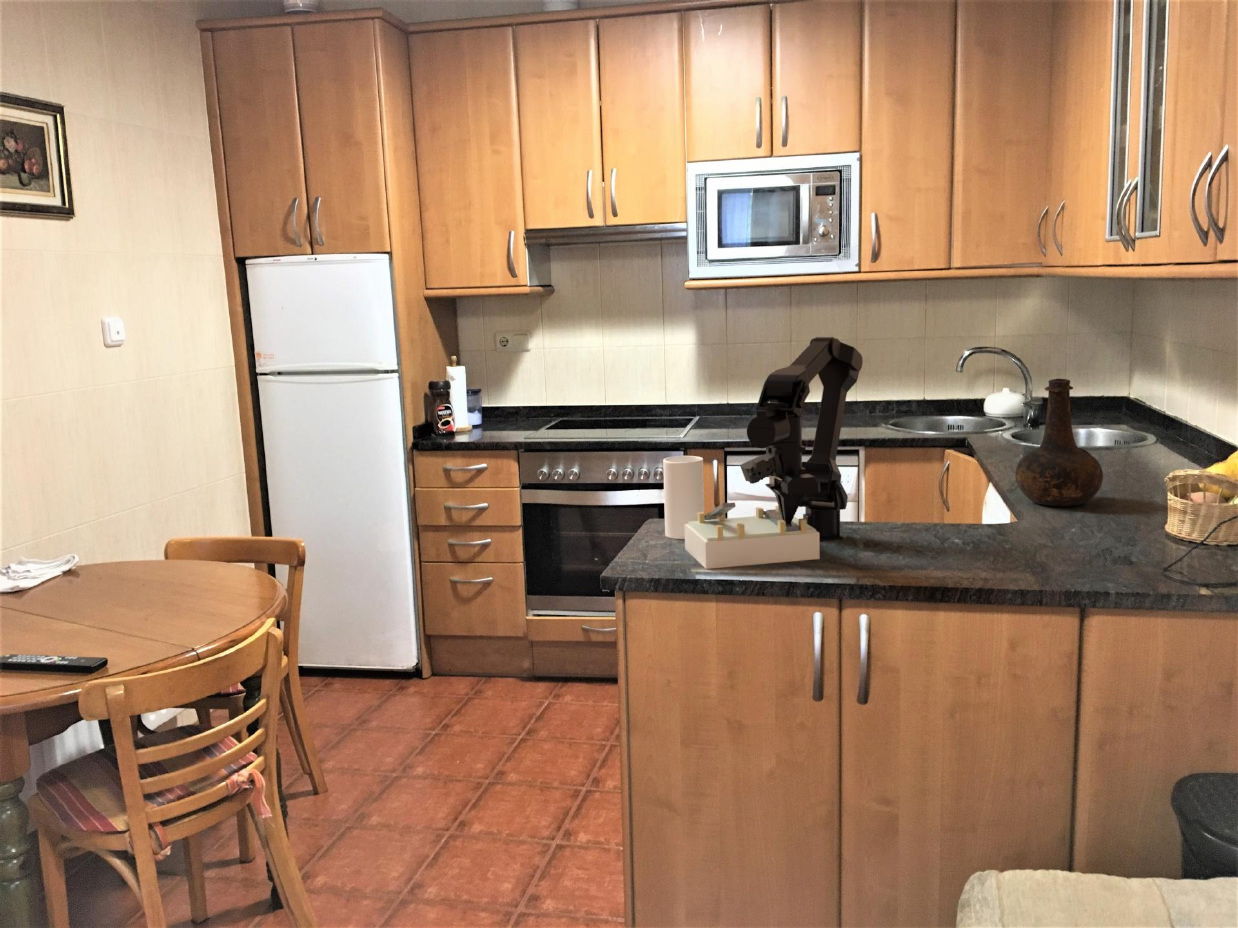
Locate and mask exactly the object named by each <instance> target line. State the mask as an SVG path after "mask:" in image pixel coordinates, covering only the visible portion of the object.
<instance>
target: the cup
mask: <svg viewBox="0 0 1238 928" xmlns="http://www.w3.org/2000/svg"><path fill="white" fill-rule="evenodd" d="M662 462H663V463H662V465H663V466H662V467H663V496H664V497H663V499H664V501H663V503H664V505H663V506H664V508H663V509H664V534H665V535H664V536H665V537H666V538H668V539H669V538H670V539H674V540H685V524H688V522H689V521H697V512H703V513H704V514H705V491H704V490H705V487H704V483H705V482H704V479H705V478H704V458H703V457H701V456H695V455H676V456H668V457H665V458H663V461H662Z"/></svg>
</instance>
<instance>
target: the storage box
mask: <svg viewBox="0 0 1238 928" xmlns="http://www.w3.org/2000/svg"><path fill="white" fill-rule="evenodd" d="M774 506H775V510H776V511H777V512H779V513H780V510H779V506H778V505H774ZM763 510H764V508H763V507H759V506H758V507H757V506H756V507H755V516H754V515H753V516H744V517H743V516H742V517H729V518H727V517H725V514H726V513H725V514H724V515H722V516H720V517H719V518H718V519H712V520H705V518H704V516H705V512H704V513H703V512H697V521H689V522H688V524H685V539H684V549H685V550H686V551H687V552H688V553H689V554H690V555H691V556H692V557H693V558H694V559H695V560H696V561H697V562H698V563H699V564H700V565H701V566H703V567H704V569H707V570H710V569H720V568H731V567H732V568H733V567H743V566H754V565H765V564H766V565H767V564H775V563H776V564H777V563H787V562H788V563H789V562H802V561H810V560H820V540H819V532H817V531H816V529H814V528H813V527H811V526H809V525H808V524H806V519H804V518H803V517H802V518H797V517H796V516H794V517H793V520H792V521H793V522H794V523H796V524H797V525H799V530H794V531H786V530H785V521H784V520H778V525H777V524H776V523H775V522H773V521H772V520H770V519H769V518H767V517H766V516H765V515H763ZM780 514H781V513H780Z"/></svg>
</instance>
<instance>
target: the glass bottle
mask: <svg viewBox="0 0 1238 928" xmlns="http://www.w3.org/2000/svg"><path fill="white" fill-rule="evenodd" d="M1073 389H1074V387H1073V386H1072V385H1071V380H1070V379H1067V378H1053V379H1049V380H1048V386H1046V387H1045V388H1044V391H1046V392H1048V397H1047V407H1046V408H1047V410H1046V419H1045V426H1044V431H1043V438H1042V441H1041V443H1040V445H1039V447H1038V448H1036V449H1034V450H1032V451H1030V452H1028V453H1026V454H1025V455H1024V456H1023V457H1021V458H1020V460H1019V461H1018V462H1017V465H1016V469H1015V472H1014V473H1015V474H1014V478H1015V481H1016V484H1017V487H1018V488H1019V490H1020V491H1021V493H1022V494H1023V495H1025V497H1026V498H1028V499H1029V500H1030V501H1032V502H1033V503H1036V504H1039V505H1041V506H1042V505H1043V506H1049V507H1061V508H1063V507H1064V508H1065V507H1074V506H1080V505H1082V504H1085V503H1087V502H1089V501H1090V500H1092V498H1094V497H1095V495H1096V494H1098V492H1099V491H1100V489H1101V487H1102V484H1103V480H1104V473H1103V469H1102V466H1101V463H1100V462H1099V460H1098V459H1097V458H1096V457H1095V456H1093V455H1092V454H1091V453H1090V452H1088V450H1086V449H1084V448H1082V447H1078V445H1077V443H1076V441H1075V436H1074V433H1073V426H1072V425H1073V424H1072V416H1071V394H1070V393H1071V392H1070V391H1071V390H1073Z"/></svg>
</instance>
